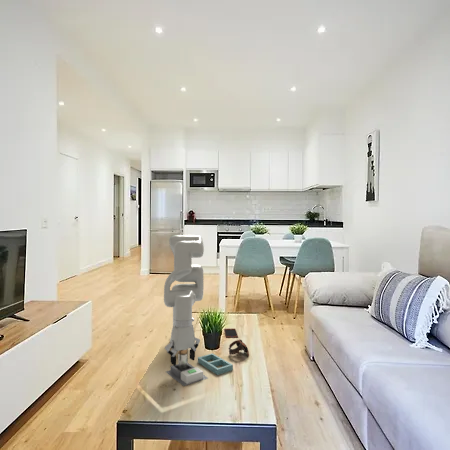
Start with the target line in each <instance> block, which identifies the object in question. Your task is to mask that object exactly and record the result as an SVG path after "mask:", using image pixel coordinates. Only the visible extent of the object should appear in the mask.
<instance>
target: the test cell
mask: <svg viewBox="0 0 450 450" xmlns="http://www.w3.org/2000/svg"><path fill="white" fill-rule="evenodd" d="M188 352H189V348H188V349H184V350H180V351H177V354H178V358H177V359H178V360H177V362H178V363H177V364H178V370H180V371H183V370H186V369H188V360H189V358H188V357H189V356H188Z"/></svg>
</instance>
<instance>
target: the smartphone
mask: <svg viewBox="0 0 450 450" xmlns="http://www.w3.org/2000/svg"><path fill="white" fill-rule="evenodd" d="M223 332H224V335H225V339H238V338H239V335H238V333H237V330H236V328H224V329H223Z"/></svg>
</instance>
